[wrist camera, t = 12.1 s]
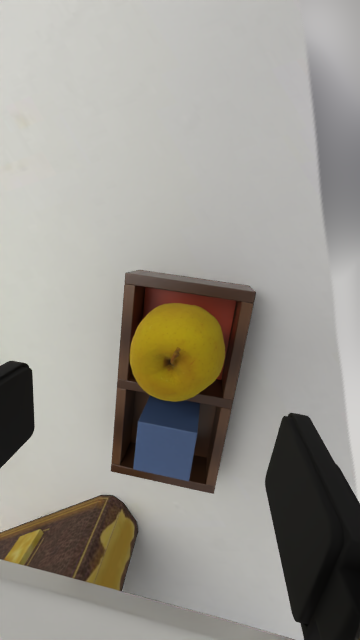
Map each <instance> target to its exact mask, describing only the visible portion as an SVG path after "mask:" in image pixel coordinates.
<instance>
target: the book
mask: <svg viewBox="0 0 360 640" xmlns="http://www.w3.org/2000/svg"><path fill="white" fill-rule="evenodd" d="M137 533H138V528H137V524H136V520H135V519H134V518H133V516H132V515H131V513H130V512H129V510H128V509H127V508H126V506H125V505H124V503H122V502H121V501H120V500H118V499H117V498H116V497H114V496H104V495H101V496H98V497H95V498H93V499H90V500H87V501H84V502H82V503H79V504H76V505H74V506H71V507H68V508H66V509H63V510H60V511H58V512H55V513H52V514H49V515H47V516H44V517H41V518H39V519H36V520H33V521H31V522H28V523H25V524H22V525H20V526H17V527H14V528H12V529H9V530H6V531H4V532H1V533H0V559H1V560H5V561H9V562H12V563H16V564H20V565H24V566H28V567H31V568H35V569H39V570H43V571H47V572H51V573H54V574H58V575H62V576H66V577H70V578H73V579H77V580H81V581H85V582H88V583H92V584H96V585H100V586H104V587H107V588H111V589H115V590H119V591H122V588H123V584H124V580H125V577H126V573H127V569H128V566H129V562H130V559H131V555H132V551H133V548H134V544H135V540H136V537H137Z"/></svg>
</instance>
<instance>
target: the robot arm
mask: <svg viewBox="0 0 360 640" xmlns="http://www.w3.org/2000/svg"><path fill="white" fill-rule="evenodd" d="M33 431H34V404H33V380H32V370H31V369H30V368H29V366H28V364H26V363H21V362H15V361H9V362H7V363H5V364H3V365H1V366H0V468H1V467H2V466H3V465H4V464H5V463H6V462H7V461H8V460H9V459H10V458H11V457H12V456H13V455H14V454H15V453H16V452H17V450H18V449H19V448H20V447H21V446H22V445H23V444H24V443H25V442H26V441H27V440H28V439H29V438H30V437H31V436H32V434H33ZM265 486H266V492H267V497H268V501H269V506H270V511H271V516H272V520H273V525H274V530H275V534H276V539H277V544H278V549H279V553H280V558H281V563H282V567H283V572H284V577H285V582H286V586H287V591H288V596H289V601H290V605H291V610H292V614H293V617H294V619H295V621H296V622H300V623H301V627H302V631H303V636H304V640H360V503H359V501H358V500H357V498H356V496H355V494H354V493H353V491H352V489H351V487H350V486H349V484H348V482H347V480H346V479H345V477H344V475H343V473H342V471H341V470H340V468H339V467H338V466H337V464H335V462H334V460H333V459H332V457H331V455H330V453H329V452H328V450H327V448H326V446H325V444H324V443H323V441H322V439H321V437H320V435H319V434H318V432H317V430H316V428H315V426H314V425H313V423H312V421H311V419H310V418H309V417H308V416H305V415H300V414H295V413H290V414H289V415H288V417H287V416H284V417H283V418H282V421H281V425H280V428H279V432H278V435H277V439H276V442H275V446H274V449H273V453H272V456H271V460H270V463H269V467H268V470H267V474H266V479H265ZM0 640H294V639H291V638H287V637H284V636H281V635H277V634H274V633H270V632H267V631H264V630H260V629H257V628H253V627H250V626H246V625H243V624H240V623H236V622H233V621H229V620H226V619H222V618H219V617H215V616H211V615H208V614H204V613H200V612H197V611H193V610H189V609H185V608H182V607H178V606H174V605H171V604H167V603H163V602H159V601H156V600H152V599H148V598H145V597H141V596H137V595H134V594H130V593H126V592H122V591H119V590H115V589H111V588H107V587H104V586H100V585H96V584H92V583H88V582H85V581H81V580H77V579H73V578H70V577H66V576H62V575H58V574H54V573H51V572H47V571H43V570H39V569H35V568H31V567H28V566H24V565H20V564H16V563H12V562H9V561H5V560H1V559H0Z"/></svg>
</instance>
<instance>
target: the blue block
mask: <svg viewBox="0 0 360 640" xmlns="http://www.w3.org/2000/svg"><path fill="white" fill-rule="evenodd" d="M199 411H200V403H196V402H191V401H186V400H183V401H177V402H173V401H165V400H160V399H157V398H155V397H153V396H151V395H150V396H149V399H148V401H147V403H146V405H145V407H144V410H143V412H142V414H141V416H140V418H139V421H138V427H137V437H136V447H135V456H134V466H133V469H134V470H139V471H143V472H148V473H152V474H157V475H162V476H166V477H171V478H175V479H180V480H185V481H189V479H190V473H191V467H192V462H193V456H194V450H195V445H196V439H197V433H198V422H199Z"/></svg>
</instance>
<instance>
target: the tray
mask: <svg viewBox="0 0 360 640" xmlns="http://www.w3.org/2000/svg"><path fill="white" fill-rule="evenodd" d="M255 295H256V292H255V291H254V290H253V289H252V288H251V287H250V286H247V285H240V284H233V283H226V282H219V281H212V280H205V279H198V278H191V277H185V276H178V275H171V274H164V273H157V272H150V271H143V270H137V271H132V272H128V273H125V285H124V298H123V312H122V326H121V340H120V353H119V367H118V381H117V396H116V410H115V423H114V437H113V451H112V464H111V471H112V472H117V473H121V474H126V475H130V476H135V477H140V478H144V479H149V480H153V481H158V482H162V483H167V484H171V485H176V486H180V487H185V488H190V489H194V490H199V491H203V492H208V493H212V494H213V493H214V489H215V485H216V480H217V475H218V471H219V466H220V461H221V456H222V452H223V447H224V442H225V437H226V433H227V428H228V423H229V418H230V414H231V408H232V404H233V399H234V395H235V390H236V385H237V381H238V376H239V371H240V366H241V362H242V357H243V352H244V347H245V343H246V338H247V333H248V328H249V324H250V319H251V314H252V310H253V305H254V304H253V303H254V300H255ZM168 303H182V304H189V305H196V306H199V307H201V308H203V309H205V310H206V311H207V312H209V313H210V314H211V315H213V316H214V317H215V318H216V320H217V321H218V322H219V324H220V326H221V329H222V333H223V339H224V344H225V359H224V364H223V367H222V370H221V373H220V375H219V376H218V377H217V378H216V380H215V381H214V382H213V383H212V384H211V385H209V386H208V387H207V388H206V389H204V390H203V391H201V392H200V393H199V394H197V395H196V396H194V397H192V398H190V399H187V400H186V401H191V402H196V403H200V411H199V422H198V433H197V439H196V445H195V450H194V456H193V462H192V467H191V473H190V479H189V481H185V480H180V479H175V478H171V477H166V476H162V475H157V474H152V473H148V472H143V471H139V470H134V469H133V466H134V456H135V447H136V437H137V427H138V421H139V418H140V416H141V414H142V412H143V410H144V407H145V405H146V403H147V401H148V399H149V396H150V395H149V394H148V393H147V392H145V391H144V390H143V389H142V388H141V387H140V385H139V384H138V383H137V381H136V379H135V377H134V375H133V372H132V369H131V365H130V347H131V342H132V339H133V337H134V335H135V332H136V329H137V327H138V325H139V324H140V322H141V321H142V320H143V319H144V318H145V317H146V315H147V314H148V313H149V312H151V311H152V310H153V309H154V308H156V307H158V306H160V305H163V304H168Z"/></svg>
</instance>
